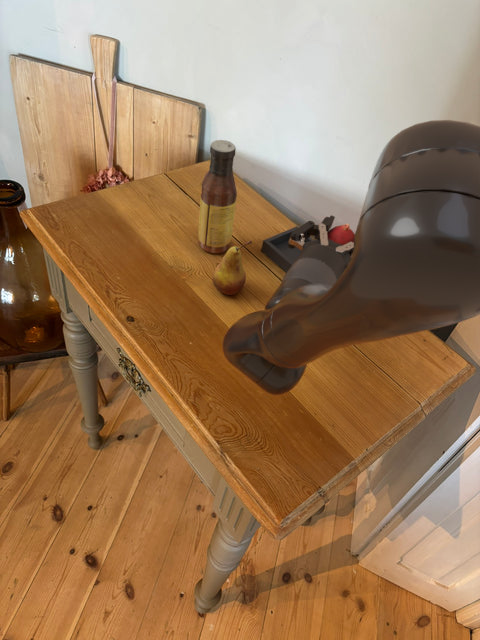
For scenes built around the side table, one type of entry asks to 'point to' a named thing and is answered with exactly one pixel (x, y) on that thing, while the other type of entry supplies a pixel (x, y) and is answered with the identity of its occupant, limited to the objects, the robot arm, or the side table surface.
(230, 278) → the fruit
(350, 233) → the onion
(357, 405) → the side table surface
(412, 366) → the side table surface
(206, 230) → the sauce bottle
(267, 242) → the tray
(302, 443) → the side table surface
